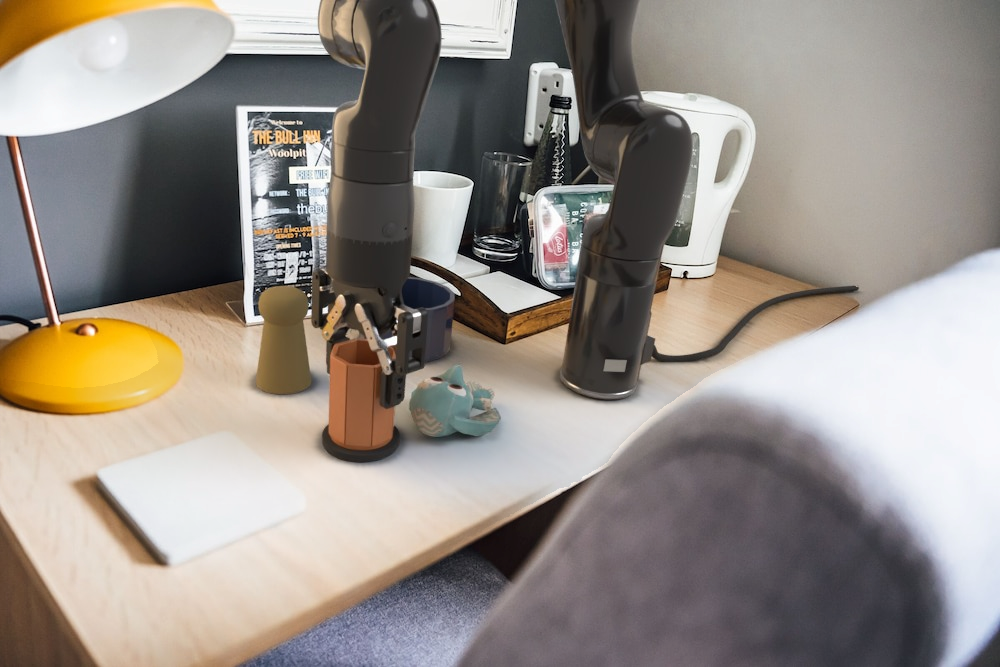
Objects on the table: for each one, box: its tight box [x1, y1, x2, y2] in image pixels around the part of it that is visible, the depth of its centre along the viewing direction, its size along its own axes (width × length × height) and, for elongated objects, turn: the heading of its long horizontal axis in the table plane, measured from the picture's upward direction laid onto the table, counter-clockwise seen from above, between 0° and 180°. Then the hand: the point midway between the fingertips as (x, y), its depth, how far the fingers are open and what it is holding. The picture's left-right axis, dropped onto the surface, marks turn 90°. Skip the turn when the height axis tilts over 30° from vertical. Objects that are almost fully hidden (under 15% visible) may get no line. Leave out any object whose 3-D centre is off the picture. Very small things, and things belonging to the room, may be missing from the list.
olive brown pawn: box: [255, 285, 312, 395], centre depth 84 cm, size 6×6×11 cm
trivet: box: [321, 423, 401, 463], centre depth 77 cm, size 8×8×1 cm
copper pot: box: [328, 337, 396, 450], centre depth 75 cm, size 6×6×9 cm
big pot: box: [358, 276, 456, 363], centre depth 98 cm, size 12×12×7 cm
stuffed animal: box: [408, 364, 502, 438], centre depth 81 cm, size 11×7×12 cm
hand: (363, 388), depth 74 cm, fingers open, 7 cm apart
